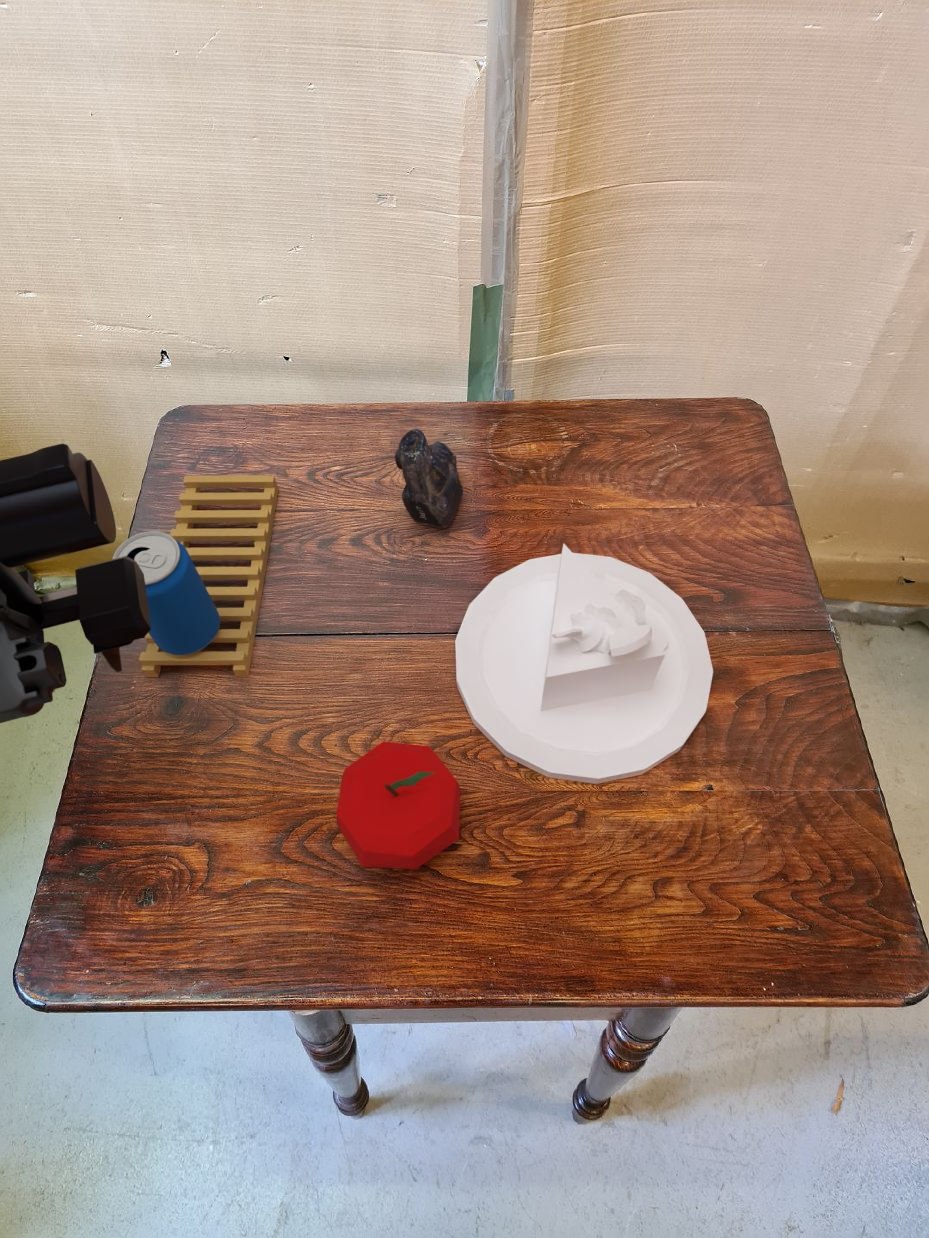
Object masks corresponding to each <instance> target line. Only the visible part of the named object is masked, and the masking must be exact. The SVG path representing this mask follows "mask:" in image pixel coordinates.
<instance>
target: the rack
mask: <svg viewBox="0 0 929 1238" xmlns="http://www.w3.org/2000/svg"><path fill="white" fill-rule="evenodd" d="M182 483H183V485H184V487H185V490H184V492H180V493H179V498H178V501H179V503H180V510H179V509H175V513H174V516H173V518H174V520H175V522H176V526H175V528H171V529H170V534H169V535H170V536H171V537H172V538H174V539H175V540H177V541H178V542H180V543H181V544H182V545H183V546H184V547H185V548H186V550H187V552H188V554H189V556H190V558H191V560H192V561H251V563H250V566H195V568H196V570H197V572H198V573H199V575H200V577H201V579H202V581H247V586H205V587H206V589H207V591H208V593H209V595H210V597H211V599H212V601H244V603H243V607H216V609H217V611H218V613H219V616H220V622H240V624H239V625H240V626H239V628H236V629H235V628H231V629H229V628H227V629H226V628H224V629H222V628H221V629H220V628H219V630H218V632H217V634H216V636H215V638H214V639H213V640H212V641H211V642H210V643H209V644H211V643H212V644H214V643H219V644H220V643H223V644H225V643H226V644H228V643H230V644H231V643H236V648H235V651H197V652H195V653H192V654H187V655H173V654H169V653H167V652H165V651H163V650H161V649H160V648H159V647H158V646H157V645H156V643H155V642H154V640H153V639H152V637H151V636H150V634H149V633H148V634H147V635H146V636H145V637H144V639H145V641H146V642H147V646H146V648H145V649H146V650H145V651H140V655H139V658H138V661H139V663H140V664H141V672H142V673H143V674H144V675H145V677H146V678H159V677H160V674H161V673H160V672H161V669H162V666H232V671H233V673H234V676H235V677H236V678H249V677H250V671H251V664H252V658H253V652H254V645H255V639H256V632H257V627H258V621H259V615H260V607H261V602H262V597H263V589H264V583H265V578H266V571H267V565H268V559H269V554H270V552H269V551H270V547H271V542H272V541H271V540H272V533H273V530H274V529H273V528H274V522H275V515H276V511H277V504H278V497H279V491H280V490H279V486H278V483H277V480H276V476H275V475H274V474H271V475H270V474H265V475H264V474H263V475H262V474H259V475H258V474H256V475H255V474H252V475H250V474H242V475H239V474H238V475H237V474H236V475H228V474H227V475H225V474H224V475H184V478H183V481H182ZM218 488H219V489H221V488H222V489H226V488H227V489H229V488H230V489H233V488H237V489H238V488H239V489H240V488H241V489H242V488H243V489H244V488H246V489H248V488H249V489H250V488H253V489H254V488H256V489H257V488H263V491H261V492H260V491H259V492H258V491H257V492H202V489H218ZM199 506H260V509H208V510H206V509H205V510H203V509H200V510H198V507H199ZM195 524H257V527H256V528H255V527H254V528H253V527H251V528H249V527H247V528H194V525H195ZM191 542H254V545H253V547H245V546H244V547H243V546H242V547H239V546H238V547H236V546H235V547H230V546H229V547H189V546H190V543H191Z"/></svg>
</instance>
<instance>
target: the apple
mask: <svg viewBox="0 0 929 1238" xmlns="http://www.w3.org/2000/svg"><path fill="white" fill-rule="evenodd" d="M461 790H462V789H461V786H460V785H459V782H458V780H457V778H456V777H455V776H454V775H453V773H452V772H451V771H450V770H449V769H448V767H447V765H446V764H445V763H444V762H443V760H442V759H441V758H440V757H439V756H438V754H437V753H436V752H435V750H434V749H433V748H431V747H430V746H429V745H422V744H414V743H404V742H393V741H382V742H380V743H379V744H377V745H376V746H375V747H373V748H372V749H370V750H369V751H368V752H366V753H365V754H363V755H362V756H361V757H360V758H357V759H356V760H355V761H354V762H352V763H351V764H349V765H348V766H346V767H345V769H344V771H343V772H342V775H341V780H340V787H339V793H338V800H337V807H336V813H335V815H336V816H335V817H336V818H335V819H336V825H337V828H338V829H339V831H340V833H341V834H342V835H343V837H344V839H345V841H346V842H347V843H348V846H349V847H350V849H351V850H352V852H353V854H354V855H355V857H356V859H357V861H358V862H359V864H360V866H361V867H362V868H381V869H382V868H384V869H385V868H386V869H387V868H388V869H404V870H413V871H415V870H417V869H418V868H420V867H422V866H423V865H424V864H426V863H427V862H428V861H429V860H431V859H432V858H434V857H436V856H437V855H438V854H440V853H441V852H442V851H444V850H446V849H447V848H448V847H449V846H451V845H453V844H454V843H456V842H457V841H458V840H459V839H460V819H461V818H460V817H461V815H460V814H461V794H462V793H461V792H462V791H461Z"/></svg>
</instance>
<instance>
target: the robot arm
mask: <svg viewBox="0 0 929 1238" xmlns="http://www.w3.org/2000/svg"><path fill="white" fill-rule="evenodd" d="M109 497H110V496H109V494H108V492H107V488H106V486H105V484H104V481H103V479H102V476H101V474H100V473H99V470H98V468H97V467H96V465H95V463H94V461H93V460H92V459H88V458H87V457H86V456H85V455H84V454H83V453H81V452H74V453H73V452H72V450H71V448H70V445H68V444H65V443H59V444H54V445H49V446H46V447H42V448H39V449H37V450H35V451H32V452H31V453H27V454H23V455H18V456H14V457H9V458H4V459H0V724H2V723H6V722H10V721H13V720H18V719H21V718H27V717H31V716H34V715H37V714H38V713H39V712H40V711H41V710H42V709H43V707H44V706H45V704H48V703H52V702H53V701H54V696H53V695H54V694H53V693H54V691H55V690H57V689H61V688H65V686H66V685H67V680H68V679H67V675H66V670H65V665H64V661H63V656H62V652H61V650H60V648H59V646H58V645H57V644H55V643H53V642H50V641H46V642H45V630H46V629H50V628H54V627H57V626H61V625H65V624H68V623H72V622H76V621H77V622H78V621H79V623H80V626H81V629H82V631H83V634H84V637H85V639H86V640H87V641H88V642H89V644H91V646H93V654H95V655H96V654H100V653H101V654H102V656H103V657H104V659H105V661H106V662H107V663H108V665H109V667H110V668H111V669H112V670H114V671H115V672H116V673H120V672H122V671H123V667H122V658H121V651H120V650H121V649H120V648H122V647H126V646H129V645H132V644H133V642H134V641H136V640H140V639H145V636H146V635H147V634H148V632H149V631H150V630H151V624H150V616H149V609H148V602H147V594H146V587H145V579H144V574H143V572H142V570H141V569H140V567H139V565H138V564H137V562H136V561H134V560H133V559H131V558H129V557H128V556H124V557H120V558H116V559H113V558H112V559H107V560H103V561H100V562H96V563H92V564H88V565H84V566H80V567H78V568H76V569H74V573H75V586H72V587H69V588H66V589H60V590H56V591H53V592H49V593H45V594H41V595H38V594H37V593H36V592H35V578H34V577H33V575H32V574H31V573H30V572H29V570H28V569H26V570H22V571H17V569H16V567H22V566H24V565H29V564H33V563H37V562H41V561H46V560H50V559H52V558H57V557H62V556H66V555H70V554H74V553H77V552H82V551H86V550H90V549H93V548H97V547H102V546H105V545H110V544H114V543H115V542H116V538H117V527H116V520H115V514H114V512H113V511H114V510H113V507H112V504H111V501H110V498H109Z"/></svg>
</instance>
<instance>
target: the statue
mask: <svg viewBox="0 0 929 1238" xmlns="http://www.w3.org/2000/svg"><path fill="white" fill-rule="evenodd" d="M394 461H395V465H396V468H398V469H399V470H401V472H402V475H403V479H404V482H405V485H404V488H403V490H402V493H401V500H402V503H403V505H404V507H405V510H406V512H407V513H408V514H409V516H410V518H411V520H413V521H414V523H417V524H418V525H424V526H430V527H432V528H438V529H446V528H448V527H449V526H450V525H451V523H452V521H453V520H454V517H455V515H456V512H457V511H458V509H459V506H460V504H461V501H462V499H463V495H464V486H463V484H462V482H461V479H460V476H459V475H460V474H459V471H458V467H457V465H458V461H457V456H456V454H454V452H452V451H451V449H450V448H449V446H447V444H445V443H443V442H441V441H439V440H437V441H435V442H434V443H433V444H429V443H428V440H427V437H426V435H425V433H424V432H423V431H422V430H420V429H418V428H413V429H410V430H408V431H407V432H406V433H405V434H404V435H403V436H402V437H401V439H400V441H399V443H398V448H397V450H396V451H395V453H394Z"/></svg>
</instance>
